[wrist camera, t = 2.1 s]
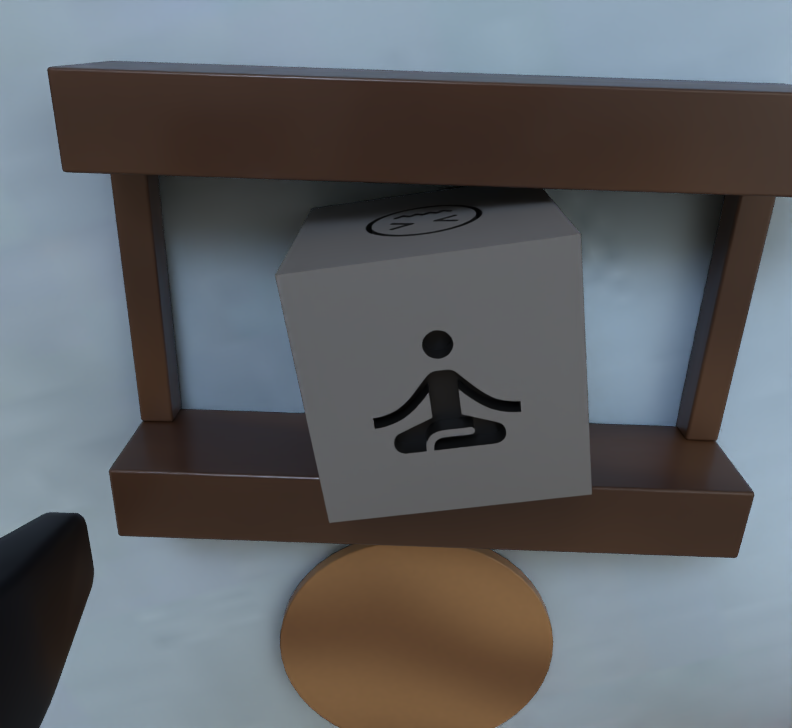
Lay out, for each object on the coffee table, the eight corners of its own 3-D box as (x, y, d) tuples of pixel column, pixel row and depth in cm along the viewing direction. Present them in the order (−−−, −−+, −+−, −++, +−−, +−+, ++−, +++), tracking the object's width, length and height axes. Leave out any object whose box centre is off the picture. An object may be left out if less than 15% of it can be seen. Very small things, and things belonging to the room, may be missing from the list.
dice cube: (348, 402, 19) (328, 523, 14) (311, 208, 17) (275, 275, 12) (547, 379, 18) (592, 494, 14) (533, 177, 16) (580, 234, 12)
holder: (692, 486, 20) (738, 559, 17) (158, 466, 20) (117, 537, 17) (785, 83, 15) (866, 94, 13) (109, 60, 16) (45, 66, 13)
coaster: (535, 740, 24) (537, 751, 23) (286, 731, 24) (284, 742, 23) (566, 537, 20) (569, 546, 20) (277, 526, 20) (275, 535, 20)
